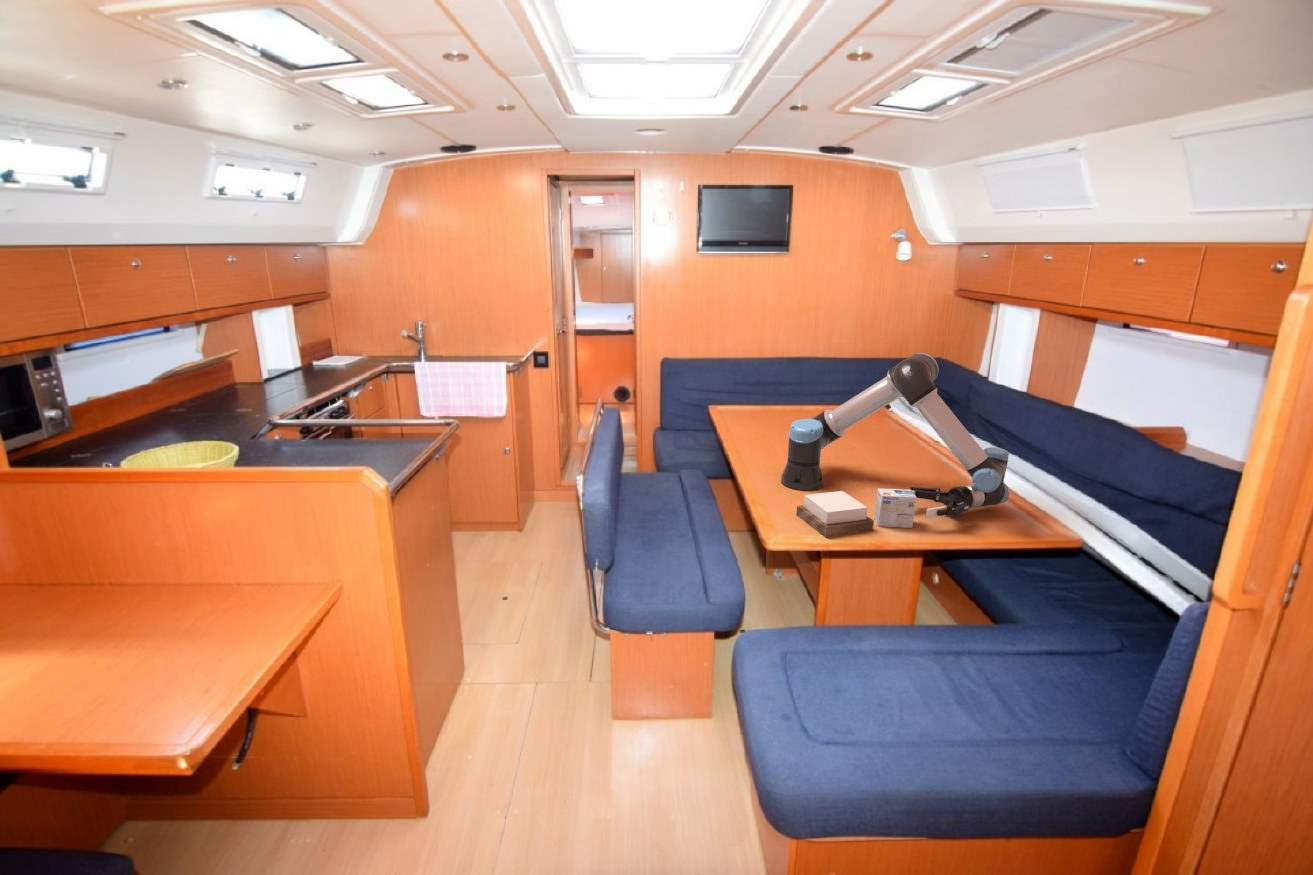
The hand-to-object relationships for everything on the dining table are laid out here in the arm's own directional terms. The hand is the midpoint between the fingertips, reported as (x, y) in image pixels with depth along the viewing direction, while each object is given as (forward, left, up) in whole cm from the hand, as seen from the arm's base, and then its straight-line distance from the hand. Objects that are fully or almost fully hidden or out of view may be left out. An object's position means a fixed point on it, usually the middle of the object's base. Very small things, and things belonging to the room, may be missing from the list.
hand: (911, 504), depth 196 cm
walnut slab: (-6, -24, -7) cm, 26 cm away
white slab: (-7, -24, -3) cm, 25 cm away
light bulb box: (-1, -6, -6) cm, 9 cm away
